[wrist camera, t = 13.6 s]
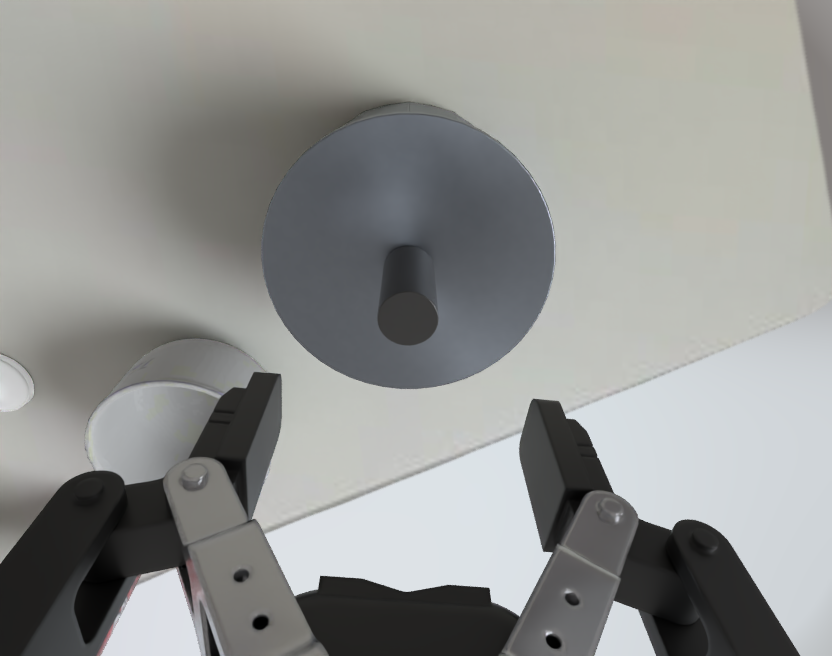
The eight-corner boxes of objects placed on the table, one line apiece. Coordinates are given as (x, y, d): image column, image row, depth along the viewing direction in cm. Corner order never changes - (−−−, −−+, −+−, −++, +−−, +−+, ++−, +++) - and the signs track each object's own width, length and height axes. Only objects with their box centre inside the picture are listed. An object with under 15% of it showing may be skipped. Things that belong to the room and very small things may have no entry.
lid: (206, 220, 25) (149, 272, 20) (457, 39, 22) (471, 41, 16) (375, 414, 31) (367, 496, 25) (596, 296, 27) (642, 362, 22)
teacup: (150, 299, 36) (86, 364, 29) (308, 343, 38) (284, 414, 31) (134, 449, 42) (79, 532, 35) (269, 480, 44) (242, 565, 37)
